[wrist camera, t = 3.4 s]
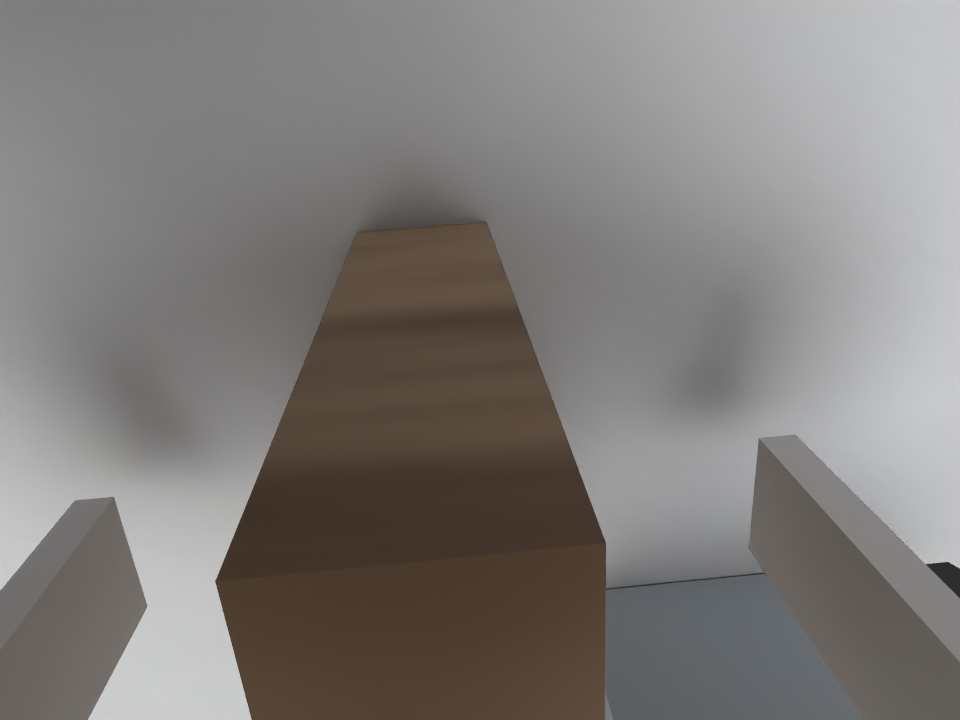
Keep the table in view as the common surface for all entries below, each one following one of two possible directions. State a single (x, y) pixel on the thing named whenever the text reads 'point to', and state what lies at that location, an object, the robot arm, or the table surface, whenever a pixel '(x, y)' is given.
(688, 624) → the grey u-shaped holder
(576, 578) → the brown wooden block
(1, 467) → the table surface
